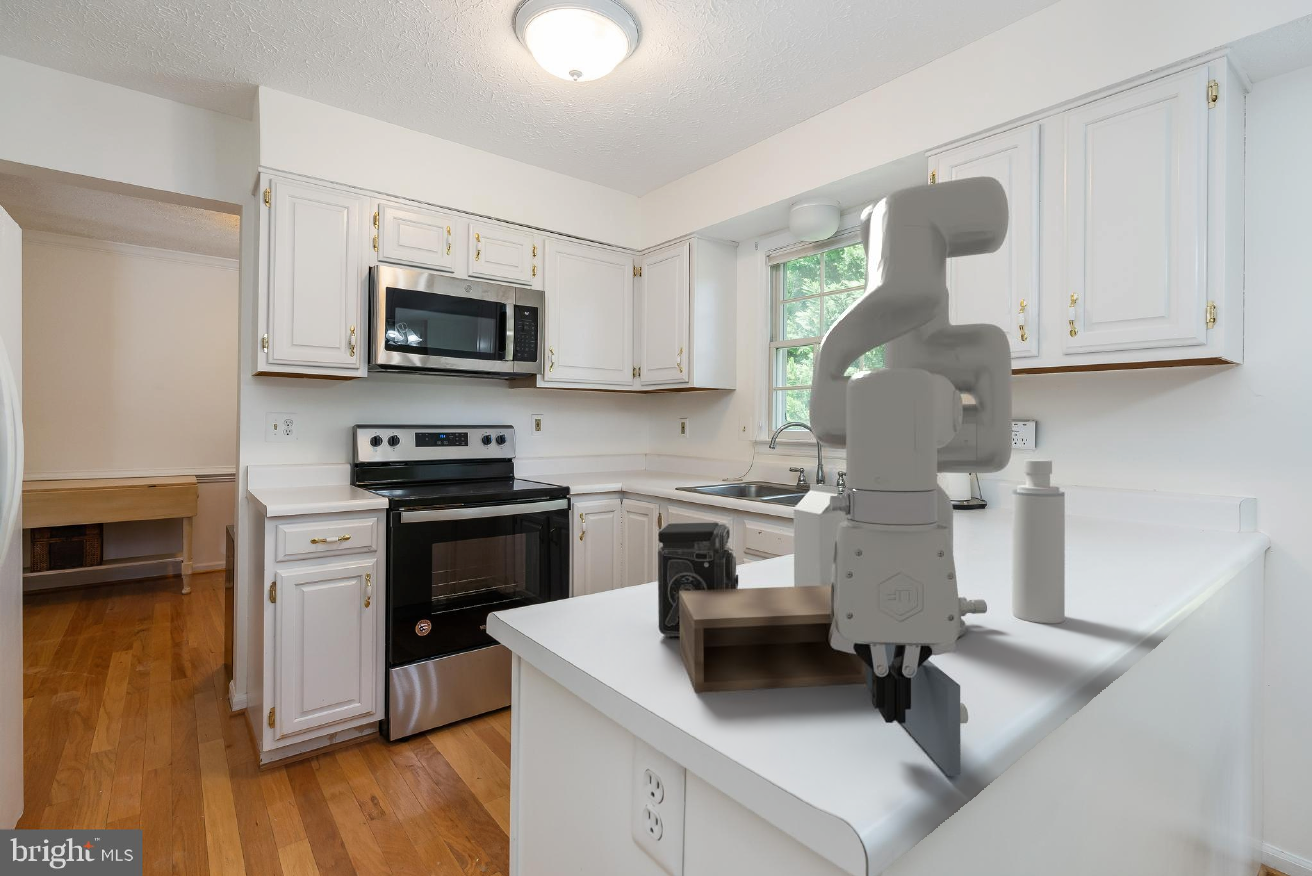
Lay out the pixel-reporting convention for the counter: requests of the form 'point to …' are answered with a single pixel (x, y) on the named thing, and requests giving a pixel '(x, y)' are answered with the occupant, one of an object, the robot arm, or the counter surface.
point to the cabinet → (762, 639)
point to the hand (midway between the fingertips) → (891, 715)
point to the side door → (933, 713)
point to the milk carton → (815, 536)
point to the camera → (691, 566)
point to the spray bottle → (1038, 547)
